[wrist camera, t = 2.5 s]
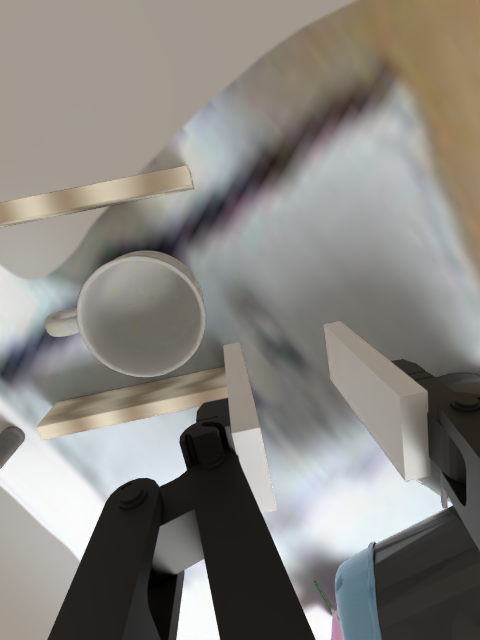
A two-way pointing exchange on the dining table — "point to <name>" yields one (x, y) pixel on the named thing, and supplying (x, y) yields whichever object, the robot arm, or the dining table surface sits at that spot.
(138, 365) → the teacup
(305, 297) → the dining table surface
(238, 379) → the robot arm
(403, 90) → the dining table surface
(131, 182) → the wooden bars
